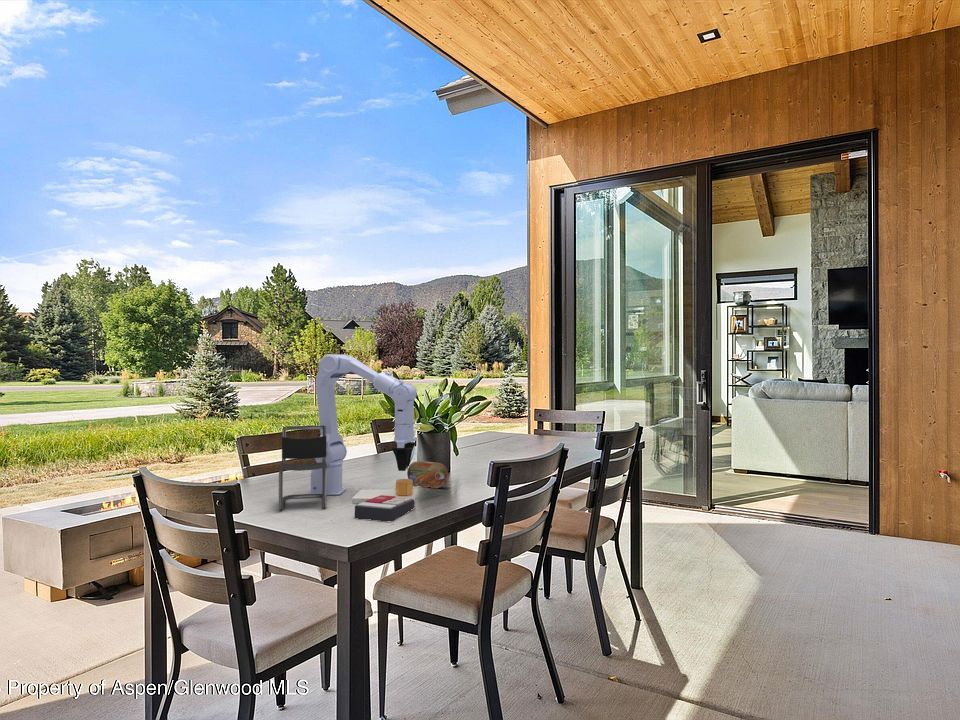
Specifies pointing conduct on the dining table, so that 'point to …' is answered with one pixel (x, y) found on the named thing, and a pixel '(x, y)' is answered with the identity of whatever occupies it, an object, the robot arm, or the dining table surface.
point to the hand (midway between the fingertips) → (403, 468)
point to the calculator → (383, 508)
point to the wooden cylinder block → (404, 487)
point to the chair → (303, 451)
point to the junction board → (370, 494)
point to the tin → (428, 474)
